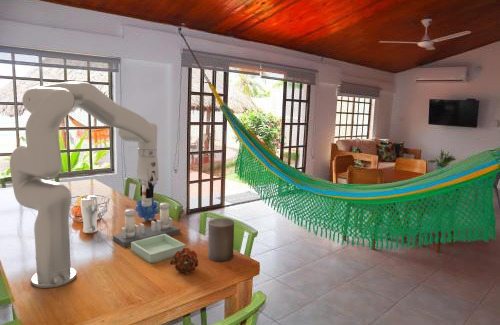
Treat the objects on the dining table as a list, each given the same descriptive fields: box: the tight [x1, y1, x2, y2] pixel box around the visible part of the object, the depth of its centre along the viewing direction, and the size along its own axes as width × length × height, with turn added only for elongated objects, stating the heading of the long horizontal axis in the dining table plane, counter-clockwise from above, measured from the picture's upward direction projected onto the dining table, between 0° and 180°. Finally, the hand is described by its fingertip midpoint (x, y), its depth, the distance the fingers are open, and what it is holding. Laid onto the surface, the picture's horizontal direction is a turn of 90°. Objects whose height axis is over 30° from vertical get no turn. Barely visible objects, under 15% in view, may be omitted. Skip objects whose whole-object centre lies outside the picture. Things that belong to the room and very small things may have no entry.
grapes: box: [135, 197, 160, 221], centre depth 174 cm, size 12×7×12 cm, turn 130°
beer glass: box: [80, 195, 99, 234], centre depth 157 cm, size 7×7×15 cm
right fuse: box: [159, 202, 170, 230], centre depth 159 cm, size 4×4×11 cm
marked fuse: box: [141, 180, 152, 207], centre depth 151 cm, size 4×4×11 cm
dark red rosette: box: [169, 247, 199, 274], centre depth 125 cm, size 8×8×12 cm
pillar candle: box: [207, 217, 235, 263], centre depth 137 cm, size 10×10×15 cm
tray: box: [130, 234, 186, 265], centre depth 139 cm, size 15×15×4 cm
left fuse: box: [124, 208, 136, 238], centre depth 148 cm, size 4×4×11 cm
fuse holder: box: [112, 216, 181, 248], centre depth 155 cm, size 10×26×6 cm, turn 134°
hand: (146, 196), depth 152 cm, fingers closed on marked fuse, 3 cm apart
